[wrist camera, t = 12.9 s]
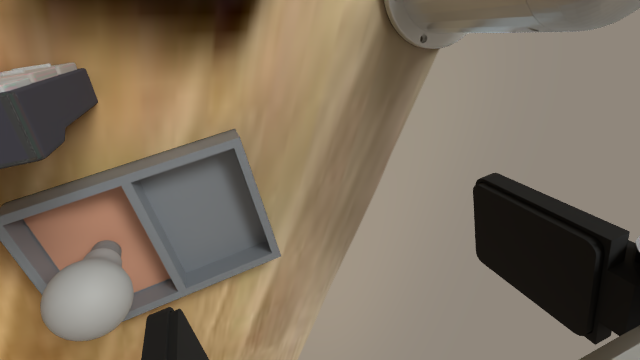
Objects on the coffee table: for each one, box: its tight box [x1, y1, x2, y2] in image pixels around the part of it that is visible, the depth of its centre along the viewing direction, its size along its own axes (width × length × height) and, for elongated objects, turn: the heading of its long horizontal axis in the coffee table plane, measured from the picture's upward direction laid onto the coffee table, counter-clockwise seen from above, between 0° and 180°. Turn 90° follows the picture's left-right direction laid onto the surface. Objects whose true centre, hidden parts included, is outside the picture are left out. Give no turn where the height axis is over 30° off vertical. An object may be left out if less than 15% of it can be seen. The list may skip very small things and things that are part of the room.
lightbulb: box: [40, 240, 134, 341], centre depth 30 cm, size 6×6×11 cm
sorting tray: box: [0, 129, 281, 322], centre depth 35 cm, size 21×14×4 cm, turn 103°
